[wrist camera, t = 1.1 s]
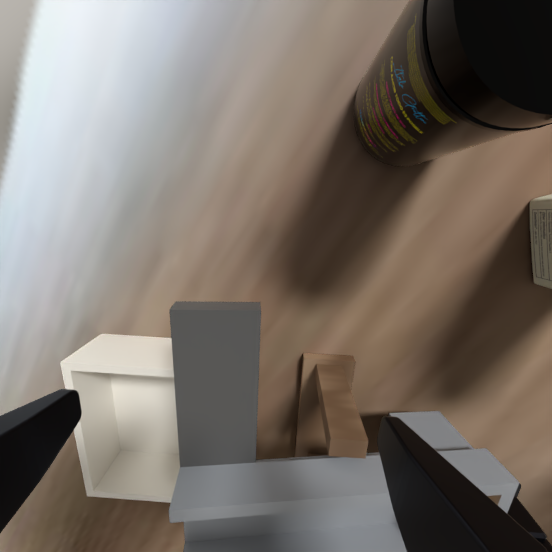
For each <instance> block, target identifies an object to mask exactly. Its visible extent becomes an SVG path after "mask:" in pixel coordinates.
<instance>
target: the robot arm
mask: <svg viewBox="0 0 552 552" xmlns="http://www.w3.org/2000/svg"><path fill="white" fill-rule="evenodd" d="M81 415H82V410H81V404H80V397H79V393H78V392H77V391H76V390H71V389H60V390H58V391H56V392H53V393H51V394H49V395H47V396H44V397H42V398H40V399H38V400H35V401H33V402H31V403H28V404H26V405H24V406H22V407H19V408H17V409H15V410H13V411H10V412H8V413H6V414H4V415H1V416H0V533H1V532H2V530H3V529H4V528H5V526H6V525H7V524H8V522H9V521H10V520H11V518H12V517H13V516H14V515H15V513H16V512H17V511H18V509H19V508H20V507H21V505H22V504H23V503H24V501H25V500H26V499H27V497H28V496H29V495H30V494H31V492H32V491H33V490H34V488H35V487H36V486H37V484H38V483H39V481H40V480H41V479H42V477H43V476H44V474H45V473H46V471H47V470H48V468H49V467H50V465H51V464H52V462H53V461H54V459H55V458H56V456H57V455H58V453H59V452H60V450H61V449H62V447H63V445H64V444H65V442H66V441H67V439H68V438H69V436H70V435H71V433H72V432H73V430H74V429H75V427H76V426H77V424H78V422H79V421H80V418H81ZM377 444H378V450H379V454H380V458H381V462H382V466H383V471H384V475H385V479H386V483H387V487H388V491H389V496H390V500H391V503H392V507H393V511H394V514H395V517H396V521H397V524H398V527H399V530H400V533H401V536H402V539H403V542H404V545H405V548H406V551H407V552H552V546H551V544H550V543H549V542H548V541H547V539H546V538H547V536H546V534H545V533H544V532H543V530H542V529H541V528H540V526H539V525H538V524H537V523H536V521H535V520H534V519H533V518H532V516H531V515H530V514H529V513H528V511H527V510H526V509H525V508H524V506H523V505H522V504H521V502H520V501H519V500H518V499H517V496H518V493H519V491H520V488H521V484H520V483H519V485H518V488H517V490H516V493H515V495H514V498H513V500H512V503H511V505H510V508H509V510H508V513H506V512H505V511H504V510H502V509H501V508H500V507H499V506H498V505H497V504H496V503H495V502H493V501H492V500H491V499H490V498H489V497H488V496H487V495H486V494H484V493H483V492H482V491H481V490H480V489H479V488H478V487H477V486H475V485H474V484H473V483H472V482H471V481H470V480H469V479H467V478H466V477H465V476H464V475H463V474H462V473H461V472H460V471H458V470H457V469H456V468H455V467H454V466H453V465H452V464H451V463H449V462H448V461H447V460H446V459H445V458H444V457H443V456H441V455H440V454H439V453H438V452H437V451H436V450H435V449H434V448H432V447H431V446H430V445H429V444H428V443H427V442H426V441H425V440H423V439H422V438H421V437H420V436H419V435H418V434H417V433H416V432H414V431H413V430H412V429H411V428H410V427H409V426H408V425H406V424H405V423H404V422H403V421H402V420H401V419H400V418H398V417H395V416H383V417H382V419H381V424H380V428H379V432H378V437H377Z"/></svg>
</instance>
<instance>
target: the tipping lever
mask: <svg viewBox="0 0 552 552" xmlns="http://www.w3.org/2000/svg"><path fill="white" fill-rule="evenodd" d="M260 323H261V306H260V302H175V303H174V305H173V306H172V307H171V309H170V325H171V339H172V354H173V369H174V384H175V399H176V414H177V429H178V444H179V459H180V469H179V473H178V477H177V481H176V485H175V489H174V492H173V496H172V500H171V504H170V508H169V519H170V523H174V522H184V534H185V545H184V551H183V552H407V551H406V548H405V545H404V542H403V539H402V536H401V533H400V530H399V527H398V524H397V521H396V517H395V514H394V511H393V507H392V503H391V500H390V496H389V491H388V487H387V483H386V479H385V475H384V471H383V466H382V462H381V458H380V454H379V452H378V453H366V458H365V459H363V458H349V457H335V456H312V457H296V458H279V459H262V460H256V438H257V409H258V380H259V352H260ZM389 416H395V417H398V418H400V419H401V420H402V421H403V422H404V423H405V424H406V425H408V426H409V427H410V428H411V429H412V430H413V431H414V432H416V433H417V434H418V435H419V436H420V437H421V438H422V439H423V440H425V441H426V442H427V443H428V444H429V445H430V446H431V447H432V448H434V449H435V450H436V451H437V452H438V453H439V454H440V455H441V456H443V457H444V458H445V459H446V460H447V461H448V462H449V463H451V464H452V465H453V466H454V467H455V468H456V469H457V470H458V471H460V472H461V473H462V474H463V475H464V476H465V477H466V478H467V479H469V480H470V481H471V482H472V483H473V484H474V485H475V486H477V487H478V488H479V489H480V490H481V491H482V492H483V493H484V494H486V495H487V496H488V497H489V498H490V499H491V500H492V501H493V502H495V503H496V504H497V505H498V506H499V507H500V508H501V509H502V510H504V511H505V512H506V513H508V510H509V508H510V505H511V503H512V500H513V498H514V495H515V493H516V490H517V488H518V485H519V482H518V481H517V480H516V478H515V477H514V476H513V475H512V474H511V473H510V472H509V471H508V470H507V469H506V468H505V467H504V466H503V465H502V464H501V463H500V462H499V461H498V460H497V459H496V458H495V457H494V456H493V455H492V454H491V453H490V452H489V451H488V450H487V449H486V448H485V449H474V448H473V447H472V446H471V445H470V444H469V443H468V442H467V441H466V440H465V439H464V438H463V437H462V435H461V434H460V433H459V432H458V431H457V430H456V429H455V428H454V427H453V426H452V425H451V423H450V422H449V421H448V420H447V419H446V418H445V417H444V416H443V415H442V414H441V413H440V412H439V411H427V412H403V413H389Z"/></svg>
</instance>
